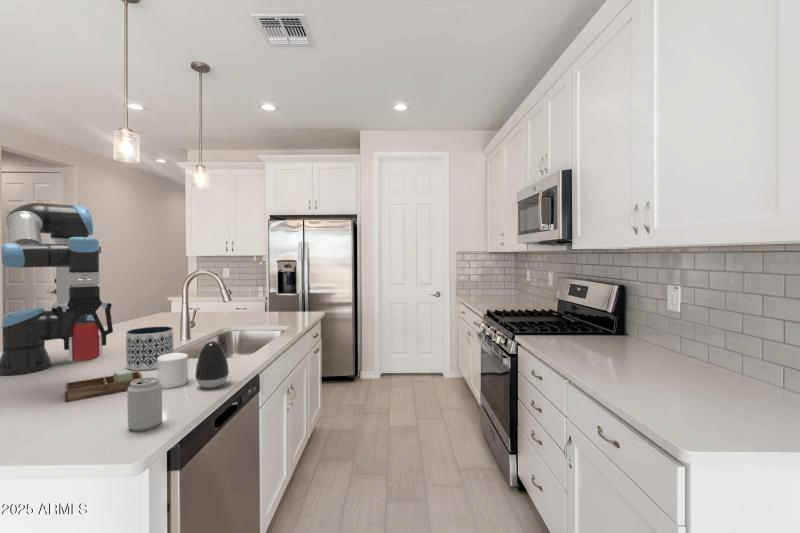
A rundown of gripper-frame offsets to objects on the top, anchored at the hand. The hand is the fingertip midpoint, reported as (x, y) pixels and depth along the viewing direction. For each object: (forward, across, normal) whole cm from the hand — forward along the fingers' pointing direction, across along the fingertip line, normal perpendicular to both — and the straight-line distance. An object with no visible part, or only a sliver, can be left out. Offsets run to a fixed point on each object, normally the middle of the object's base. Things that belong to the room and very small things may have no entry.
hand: (85, 357), depth 122 cm
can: (+12, +11, -40) cm, 43 cm away
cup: (+12, +23, -7) cm, 27 cm away
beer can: (+1, 0, 0) cm, 1 cm away
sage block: (+11, +10, 0) cm, 14 cm away
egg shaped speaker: (+12, +33, -18) cm, 39 cm away
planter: (+12, +21, +25) cm, 35 cm away
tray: (+12, +5, 0) cm, 13 cm away
